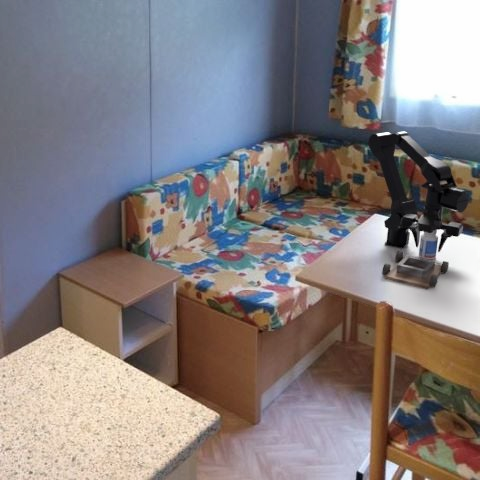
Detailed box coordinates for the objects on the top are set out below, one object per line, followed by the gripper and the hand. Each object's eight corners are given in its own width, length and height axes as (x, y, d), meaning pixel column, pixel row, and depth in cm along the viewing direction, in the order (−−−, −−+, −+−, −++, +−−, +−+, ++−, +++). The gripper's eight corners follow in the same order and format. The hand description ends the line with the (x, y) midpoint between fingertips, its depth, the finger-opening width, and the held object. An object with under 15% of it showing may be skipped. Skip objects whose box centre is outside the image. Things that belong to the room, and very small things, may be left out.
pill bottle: (438, 256, 221) (442, 228, 217) (430, 261, 217) (434, 232, 213) (423, 252, 224) (427, 224, 221) (415, 256, 220) (419, 228, 217)
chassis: (380, 277, 204) (381, 266, 202) (399, 258, 218) (400, 248, 217) (432, 290, 196) (433, 279, 195) (448, 269, 211) (450, 259, 209)
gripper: (397, 204, 212) (392, 250, 218) (457, 216, 203) (450, 263, 209) (408, 196, 221) (403, 240, 227) (466, 206, 212) (459, 252, 218)
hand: (427, 249), depth 220 cm, fingers open, 7 cm apart
